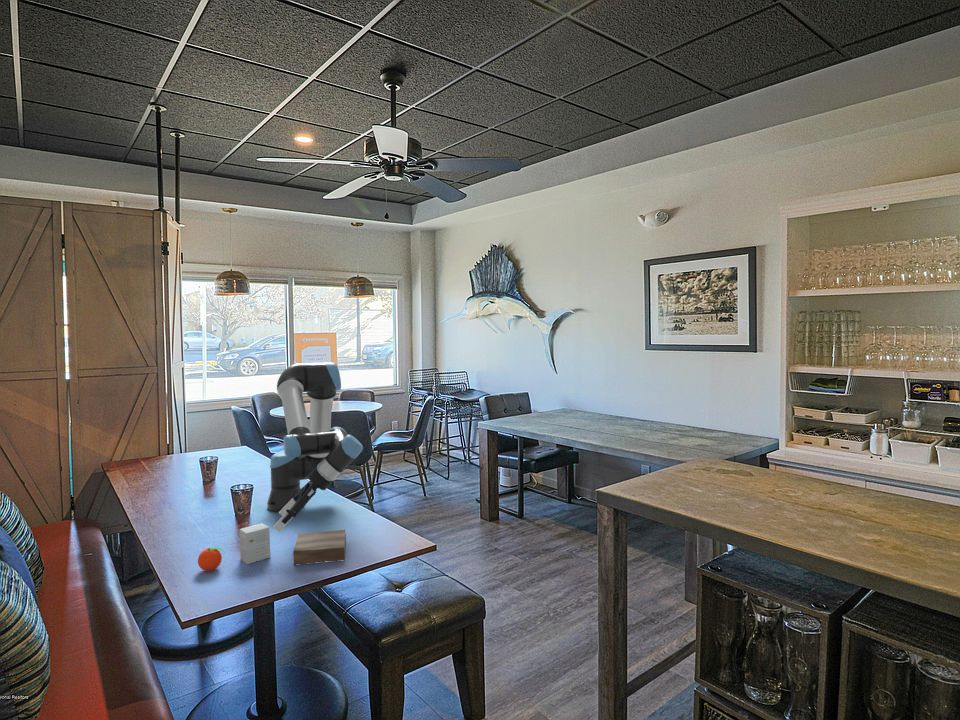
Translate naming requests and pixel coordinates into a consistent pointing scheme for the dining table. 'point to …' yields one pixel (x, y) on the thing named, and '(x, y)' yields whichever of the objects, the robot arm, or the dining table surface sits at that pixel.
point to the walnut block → (319, 547)
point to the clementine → (209, 559)
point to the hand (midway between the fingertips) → (278, 522)
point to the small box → (254, 543)
